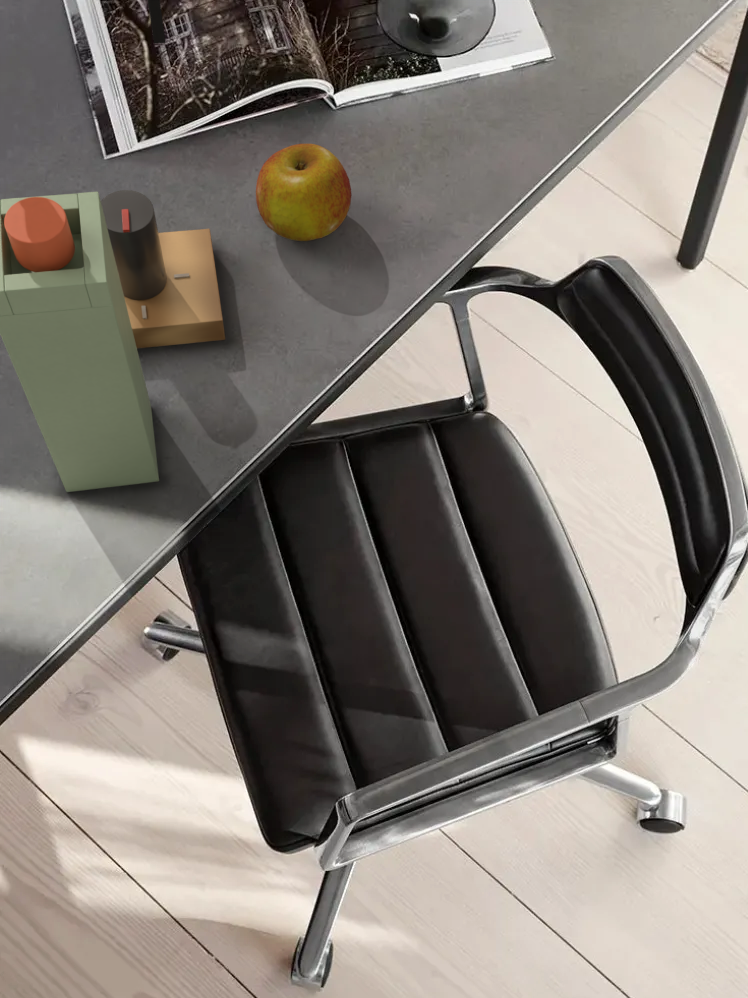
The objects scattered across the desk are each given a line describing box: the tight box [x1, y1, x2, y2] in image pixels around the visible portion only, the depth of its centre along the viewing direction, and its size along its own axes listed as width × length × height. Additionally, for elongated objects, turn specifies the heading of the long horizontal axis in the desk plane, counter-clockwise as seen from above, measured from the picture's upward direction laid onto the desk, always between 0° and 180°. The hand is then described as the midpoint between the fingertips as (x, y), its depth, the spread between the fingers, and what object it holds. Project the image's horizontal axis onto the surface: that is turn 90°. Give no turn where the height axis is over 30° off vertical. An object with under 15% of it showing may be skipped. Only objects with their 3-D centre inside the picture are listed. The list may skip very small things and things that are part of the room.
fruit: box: [255, 143, 352, 242], centre depth 110 cm, size 10×9×8 cm
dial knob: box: [100, 189, 167, 300], centre depth 101 cm, size 5×5×9 cm
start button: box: [4, 196, 75, 272], centre depth 76 cm, size 4×4×3 cm
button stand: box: [0, 191, 160, 493], centre depth 89 cm, size 8×8×27 cm
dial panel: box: [124, 228, 226, 349], centre depth 106 cm, size 14×11×3 cm
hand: (53, 35), depth 75 cm, fingers open, 13 cm apart
